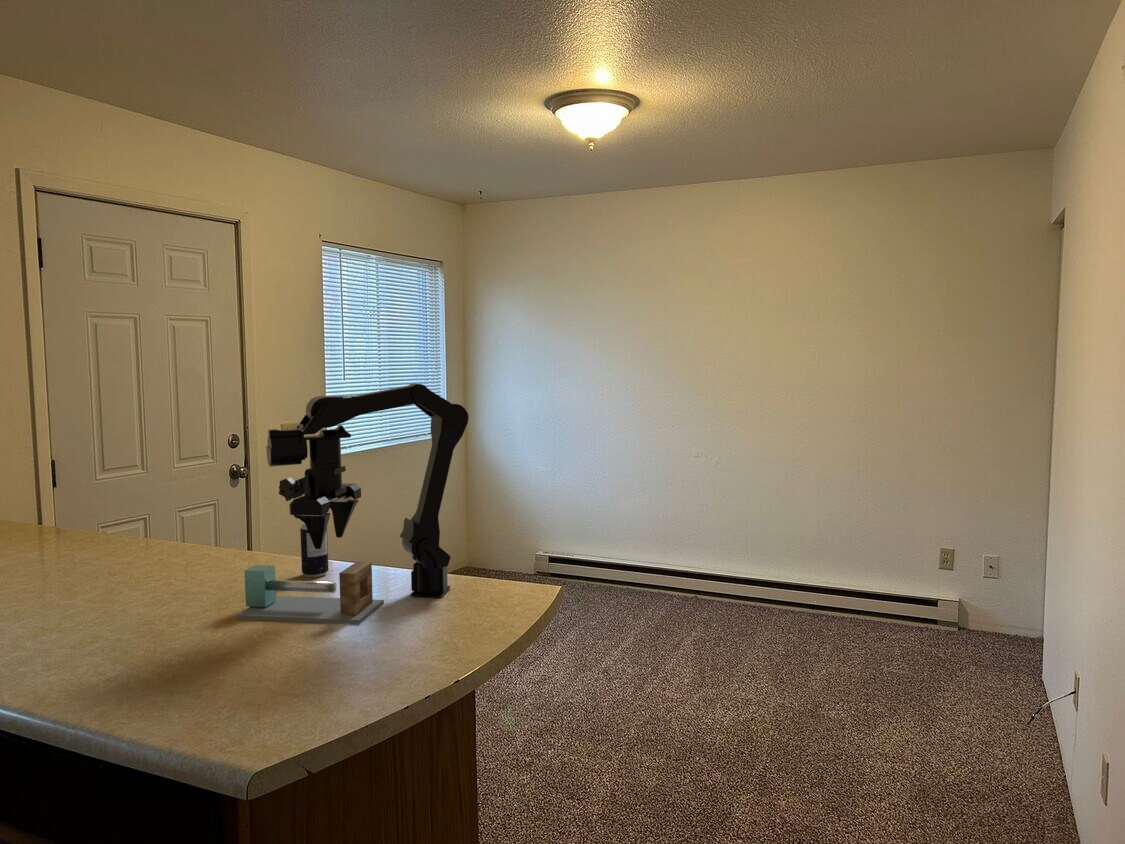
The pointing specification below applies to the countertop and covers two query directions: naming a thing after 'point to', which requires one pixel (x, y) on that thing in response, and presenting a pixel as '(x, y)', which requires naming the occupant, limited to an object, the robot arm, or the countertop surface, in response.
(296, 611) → the base board
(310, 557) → the beverage can
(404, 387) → the robot arm
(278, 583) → the green cube on rod
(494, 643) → the countertop surface
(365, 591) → the square wooden collar
